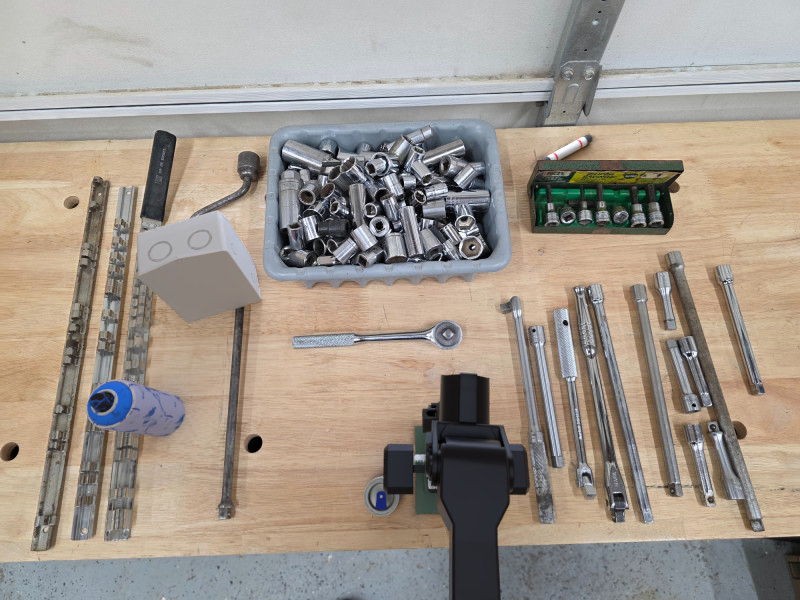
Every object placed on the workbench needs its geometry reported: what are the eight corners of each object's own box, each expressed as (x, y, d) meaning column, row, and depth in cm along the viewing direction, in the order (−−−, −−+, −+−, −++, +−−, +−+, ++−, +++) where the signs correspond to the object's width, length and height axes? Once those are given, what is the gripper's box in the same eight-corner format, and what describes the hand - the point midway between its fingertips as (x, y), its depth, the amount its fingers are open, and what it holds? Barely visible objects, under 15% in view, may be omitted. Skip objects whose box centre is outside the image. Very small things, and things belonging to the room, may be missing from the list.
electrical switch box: (253, 246, 97) (213, 180, 79) (265, 304, 90) (223, 245, 72) (185, 266, 95) (129, 203, 78) (191, 326, 88) (131, 272, 71)
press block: (475, 513, 76) (478, 515, 72) (415, 513, 76) (416, 515, 72) (470, 426, 81) (473, 424, 77) (414, 426, 81) (415, 424, 77)
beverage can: (401, 507, 76) (399, 516, 62) (371, 507, 76) (362, 516, 62) (401, 475, 78) (399, 477, 64) (372, 475, 78) (363, 476, 64)
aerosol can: (193, 394, 84) (130, 373, 65) (185, 438, 81) (118, 429, 62) (151, 393, 84) (76, 372, 65) (142, 438, 81) (62, 429, 62)
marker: (584, 138, 102) (588, 132, 100) (590, 144, 101) (593, 138, 99) (530, 168, 99) (532, 162, 97) (535, 174, 99) (537, 169, 97)
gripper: (534, 398, 55) (508, 413, 70) (381, 398, 55) (387, 413, 70) (544, 498, 51) (514, 491, 66) (379, 497, 52) (386, 491, 66)
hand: (449, 468), depth 67 cm, fingers closed
